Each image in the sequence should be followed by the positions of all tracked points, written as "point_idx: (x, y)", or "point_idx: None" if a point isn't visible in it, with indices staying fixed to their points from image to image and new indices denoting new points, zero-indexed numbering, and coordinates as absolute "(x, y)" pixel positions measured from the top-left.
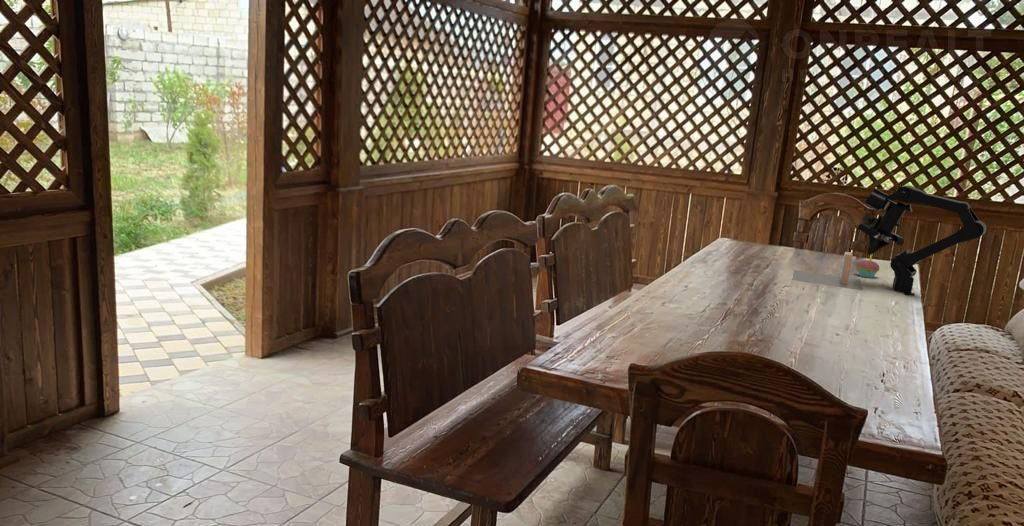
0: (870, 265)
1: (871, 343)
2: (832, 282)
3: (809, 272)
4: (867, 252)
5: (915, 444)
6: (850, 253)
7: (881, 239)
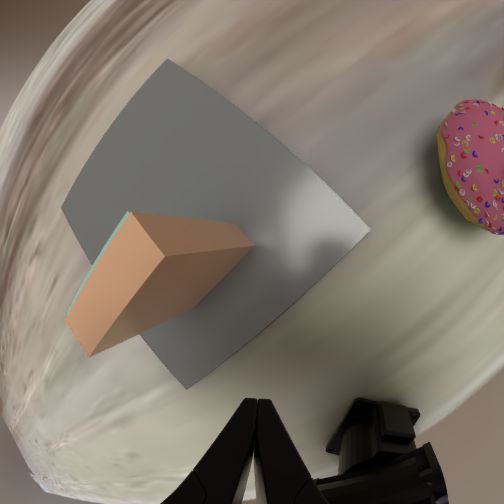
0: (483, 205)
1: (55, 468)
2: None
3: (194, 88)
4: (241, 403)
5: (40, 486)
6: (116, 295)
7: None
